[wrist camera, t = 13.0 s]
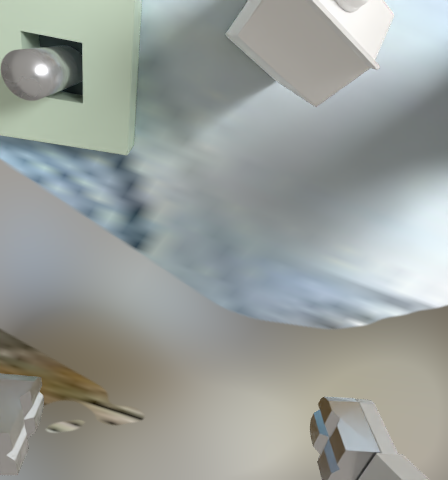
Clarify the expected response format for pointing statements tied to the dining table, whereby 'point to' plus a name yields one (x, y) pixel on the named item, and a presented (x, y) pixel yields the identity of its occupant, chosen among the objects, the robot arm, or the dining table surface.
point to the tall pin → (41, 71)
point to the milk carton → (312, 41)
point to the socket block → (94, 72)
